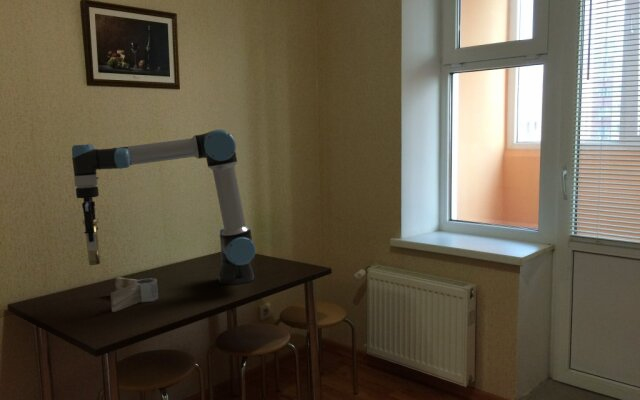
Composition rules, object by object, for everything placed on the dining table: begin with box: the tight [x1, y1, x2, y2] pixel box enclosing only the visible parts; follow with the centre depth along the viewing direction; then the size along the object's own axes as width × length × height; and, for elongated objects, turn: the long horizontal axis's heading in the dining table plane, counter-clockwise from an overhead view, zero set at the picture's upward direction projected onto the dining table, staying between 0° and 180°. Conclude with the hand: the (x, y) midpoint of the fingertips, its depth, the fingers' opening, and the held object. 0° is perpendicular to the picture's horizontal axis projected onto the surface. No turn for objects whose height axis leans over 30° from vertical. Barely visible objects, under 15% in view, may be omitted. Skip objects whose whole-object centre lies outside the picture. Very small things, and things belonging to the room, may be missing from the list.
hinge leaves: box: [110, 276, 141, 313], centre depth 200 cm, size 17×17×7 cm
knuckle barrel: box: [134, 277, 159, 303], centre depth 203 cm, size 8×8×7 cm
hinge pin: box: [82, 218, 102, 266], centre depth 195 cm, size 5×5×17 cm
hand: (93, 248), depth 195 cm, fingers closed on hinge pin, 4 cm apart
